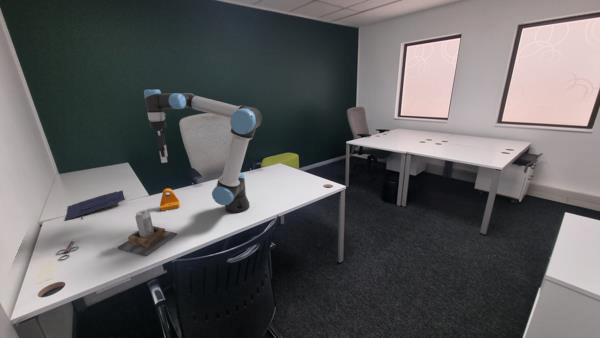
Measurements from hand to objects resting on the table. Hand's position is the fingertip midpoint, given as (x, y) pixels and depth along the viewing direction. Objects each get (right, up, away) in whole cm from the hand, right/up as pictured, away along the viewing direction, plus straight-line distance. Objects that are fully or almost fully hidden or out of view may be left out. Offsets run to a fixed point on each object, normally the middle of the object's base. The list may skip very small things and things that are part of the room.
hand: (164, 159), depth 134 cm
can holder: (0, -41, -14) cm, 43 cm away
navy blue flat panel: (-57, -30, +23) cm, 68 cm away
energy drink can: (0, -40, -14) cm, 43 cm away
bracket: (-8, -30, +21) cm, 37 cm away
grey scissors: (-34, -44, -19) cm, 59 cm away
